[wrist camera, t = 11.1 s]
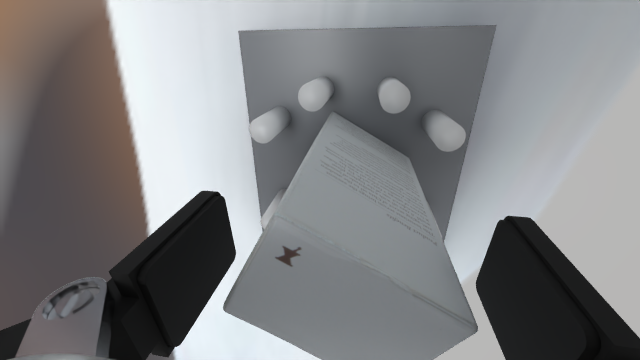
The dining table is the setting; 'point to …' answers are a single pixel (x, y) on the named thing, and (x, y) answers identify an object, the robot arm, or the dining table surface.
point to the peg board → (365, 99)
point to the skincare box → (354, 259)
